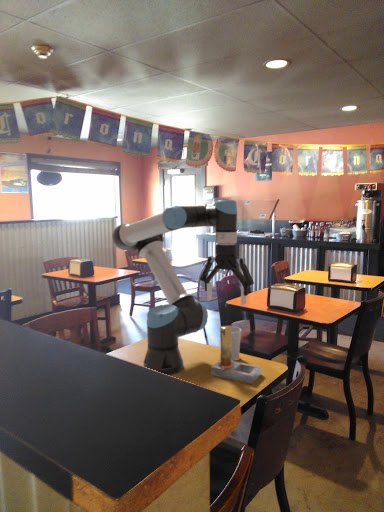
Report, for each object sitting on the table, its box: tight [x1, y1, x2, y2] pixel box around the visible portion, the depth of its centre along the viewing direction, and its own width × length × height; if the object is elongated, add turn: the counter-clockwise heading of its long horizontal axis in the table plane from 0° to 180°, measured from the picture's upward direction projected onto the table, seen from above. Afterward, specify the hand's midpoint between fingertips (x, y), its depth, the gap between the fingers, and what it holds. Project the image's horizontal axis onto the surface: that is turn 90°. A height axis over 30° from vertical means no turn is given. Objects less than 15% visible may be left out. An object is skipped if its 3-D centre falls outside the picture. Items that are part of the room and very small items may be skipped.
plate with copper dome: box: [210, 359, 262, 385], centre depth 144 cm, size 16×9×3 cm, turn 60°
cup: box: [231, 326, 242, 362], centre depth 159 cm, size 8×8×12 cm
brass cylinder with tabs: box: [219, 325, 232, 366], centre depth 144 cm, size 6×4×14 cm, turn 150°
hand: (226, 302), depth 142 cm, fingers open, 13 cm apart
